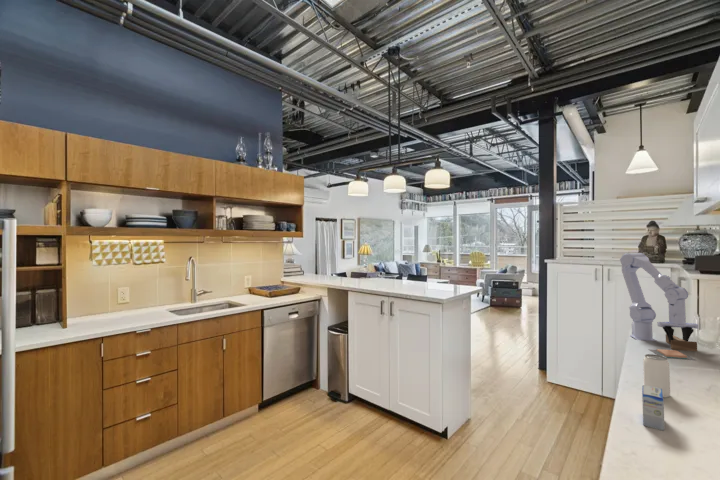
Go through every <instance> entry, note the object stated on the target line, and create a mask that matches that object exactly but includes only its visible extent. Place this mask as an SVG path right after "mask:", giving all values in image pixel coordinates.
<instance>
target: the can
mask: <svg viewBox="0 0 720 480" xmlns="http://www.w3.org/2000/svg"><path fill="white" fill-rule="evenodd" d="M642 365H643V369H642V370H643V385H646V386H652V387H656V388H660V389H662V391H663V399H664V398H669V397H671V380H670V379H671V377H670V373H671V372H670V363H669V361H668V358H666V357H663V356H659V355H656V354H652V353H651V354H650V353H649V354H647V353H646V354H645V355H644V358H643V362H642Z"/></svg>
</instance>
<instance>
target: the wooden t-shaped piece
mask: <svg viewBox="0 0 720 480" xmlns="http://www.w3.org/2000/svg"><path fill="white" fill-rule="evenodd" d="M665 343H666V344H669V345H670V350H677V351H685V352H698V342H697V341H693V340H692V341H691V340H688V341H685V340H683V338H680V337H679V336H678V337H677V336H676V335H674V334H673V340H671V343H670V342H669V339H668V337H667V334H666V333H665Z"/></svg>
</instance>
